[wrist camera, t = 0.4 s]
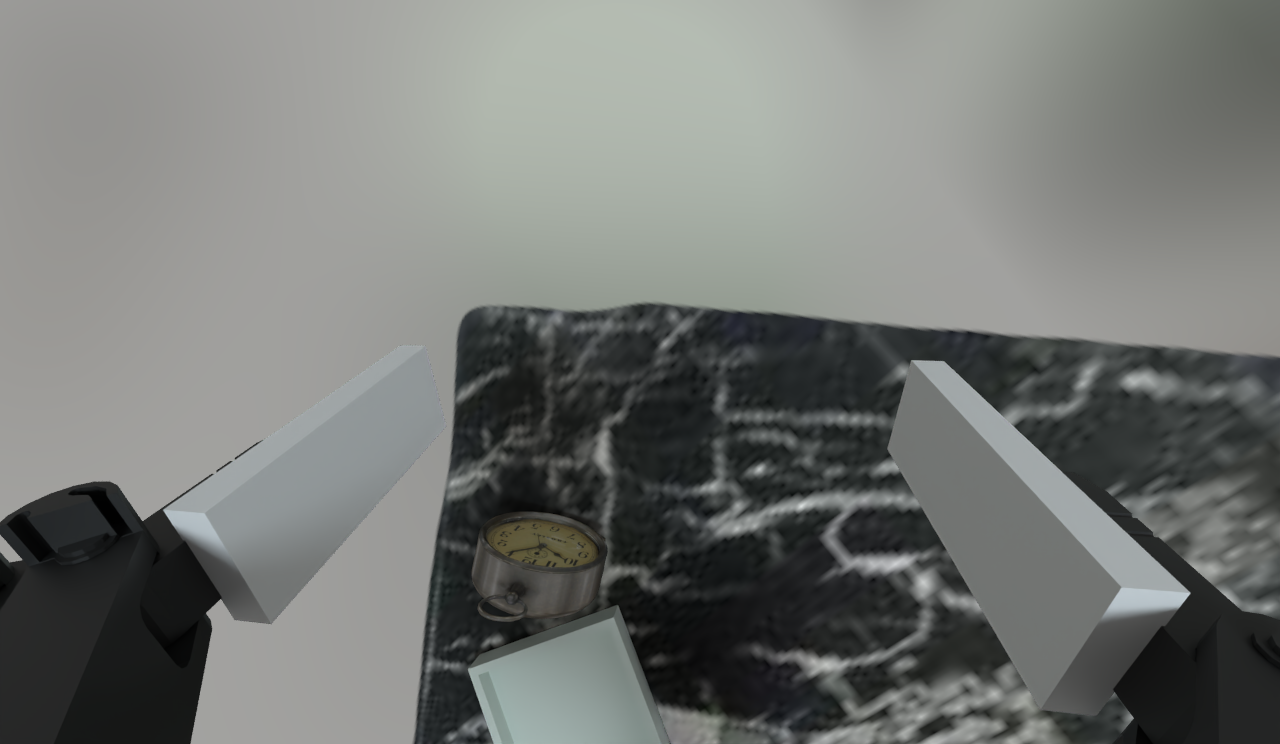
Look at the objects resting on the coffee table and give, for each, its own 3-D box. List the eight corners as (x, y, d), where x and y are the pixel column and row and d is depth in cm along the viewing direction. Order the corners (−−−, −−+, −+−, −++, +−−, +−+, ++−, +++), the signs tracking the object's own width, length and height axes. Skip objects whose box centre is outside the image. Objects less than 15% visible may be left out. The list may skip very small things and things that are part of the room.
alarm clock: (619, 526, 46) (581, 602, 29) (607, 580, 45) (561, 685, 29) (515, 498, 47) (424, 556, 31) (503, 550, 47) (405, 635, 31)
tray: (675, 757, 44) (675, 779, 42) (532, 803, 45) (523, 827, 43) (617, 604, 45) (613, 617, 43) (479, 654, 47) (467, 669, 44)
